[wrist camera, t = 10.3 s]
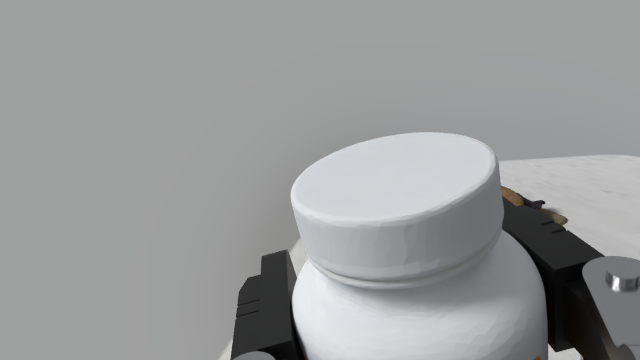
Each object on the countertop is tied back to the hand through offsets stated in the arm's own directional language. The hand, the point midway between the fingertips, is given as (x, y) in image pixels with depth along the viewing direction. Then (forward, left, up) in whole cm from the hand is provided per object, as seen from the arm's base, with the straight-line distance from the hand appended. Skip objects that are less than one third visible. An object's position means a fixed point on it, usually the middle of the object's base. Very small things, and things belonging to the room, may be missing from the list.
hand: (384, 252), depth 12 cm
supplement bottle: (0, +3, -6) cm, 7 cm away
